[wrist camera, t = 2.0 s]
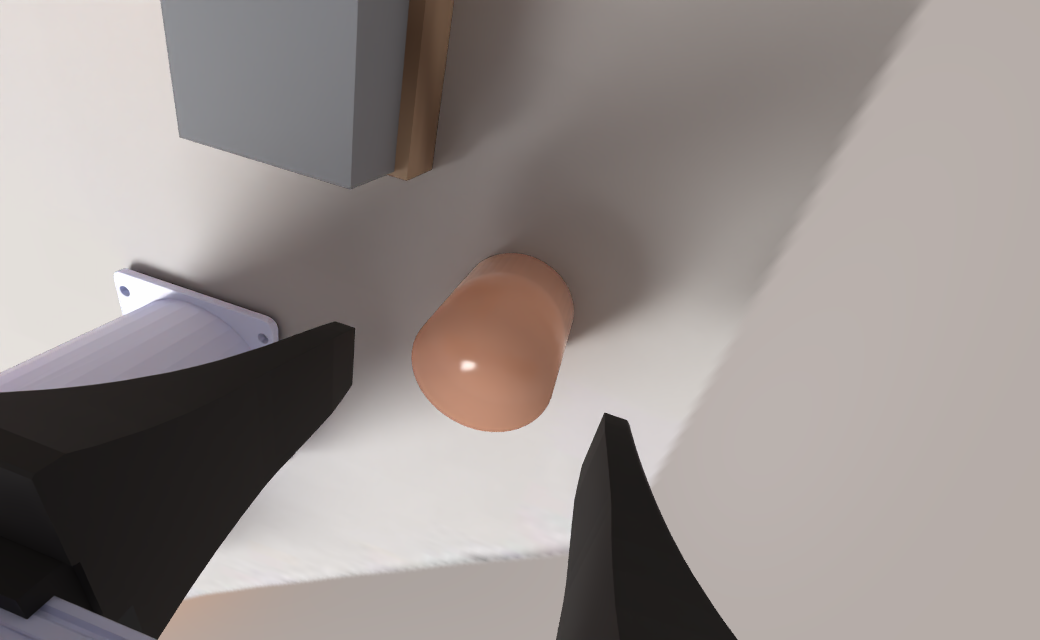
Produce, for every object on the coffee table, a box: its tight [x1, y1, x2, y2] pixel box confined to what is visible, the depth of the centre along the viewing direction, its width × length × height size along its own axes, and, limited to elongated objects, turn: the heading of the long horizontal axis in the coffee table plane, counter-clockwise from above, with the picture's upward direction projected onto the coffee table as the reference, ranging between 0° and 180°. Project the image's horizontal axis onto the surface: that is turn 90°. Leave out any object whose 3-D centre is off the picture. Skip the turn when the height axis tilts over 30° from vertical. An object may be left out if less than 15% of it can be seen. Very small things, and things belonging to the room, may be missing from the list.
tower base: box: [387, 0, 454, 181], centre depth 14 cm, size 6×6×2 cm
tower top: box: [160, 0, 409, 189], centre depth 12 cm, size 5×5×2 cm
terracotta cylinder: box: [412, 253, 574, 432], centre depth 16 cm, size 4×4×4 cm
